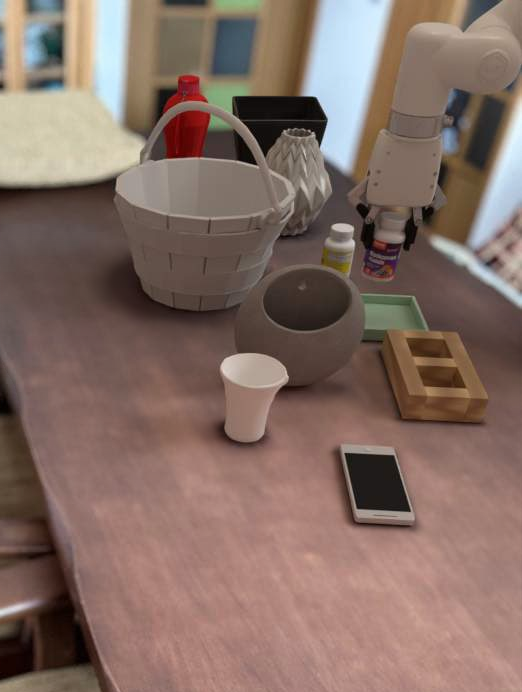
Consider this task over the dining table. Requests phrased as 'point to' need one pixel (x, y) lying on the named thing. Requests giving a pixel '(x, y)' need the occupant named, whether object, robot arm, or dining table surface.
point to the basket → (202, 220)
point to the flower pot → (275, 120)
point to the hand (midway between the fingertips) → (385, 245)
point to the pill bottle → (385, 248)
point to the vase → (301, 176)
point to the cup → (250, 393)
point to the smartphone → (376, 485)
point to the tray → (391, 315)
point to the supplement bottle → (339, 248)
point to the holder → (433, 376)
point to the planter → (302, 321)
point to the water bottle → (186, 122)
